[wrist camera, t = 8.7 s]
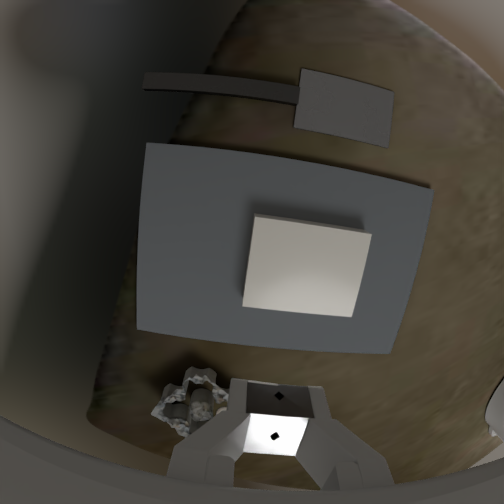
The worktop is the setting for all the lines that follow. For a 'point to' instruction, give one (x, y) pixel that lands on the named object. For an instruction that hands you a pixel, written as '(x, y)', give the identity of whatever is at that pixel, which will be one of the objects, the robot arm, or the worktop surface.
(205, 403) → the egg carton
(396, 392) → the worktop surface
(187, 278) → the mat
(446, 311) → the worktop surface
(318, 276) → the tile
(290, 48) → the worktop surface
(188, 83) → the turner
